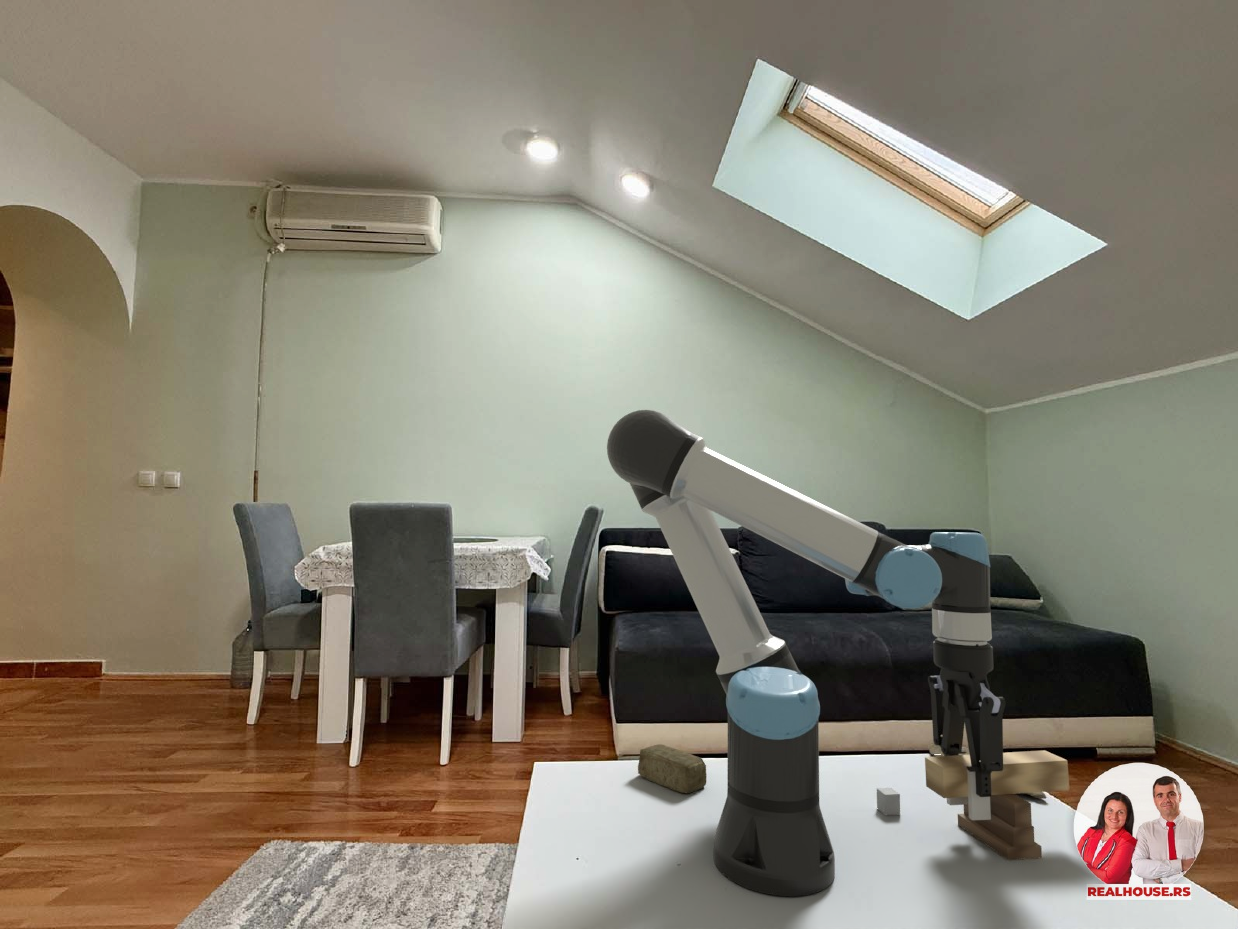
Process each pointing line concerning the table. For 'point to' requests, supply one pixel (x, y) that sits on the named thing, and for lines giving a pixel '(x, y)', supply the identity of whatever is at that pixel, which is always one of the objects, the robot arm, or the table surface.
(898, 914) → the table surface
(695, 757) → the stone block
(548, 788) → the table surface
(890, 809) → the gray blocks
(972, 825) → the stepped block
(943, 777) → the brass bar
